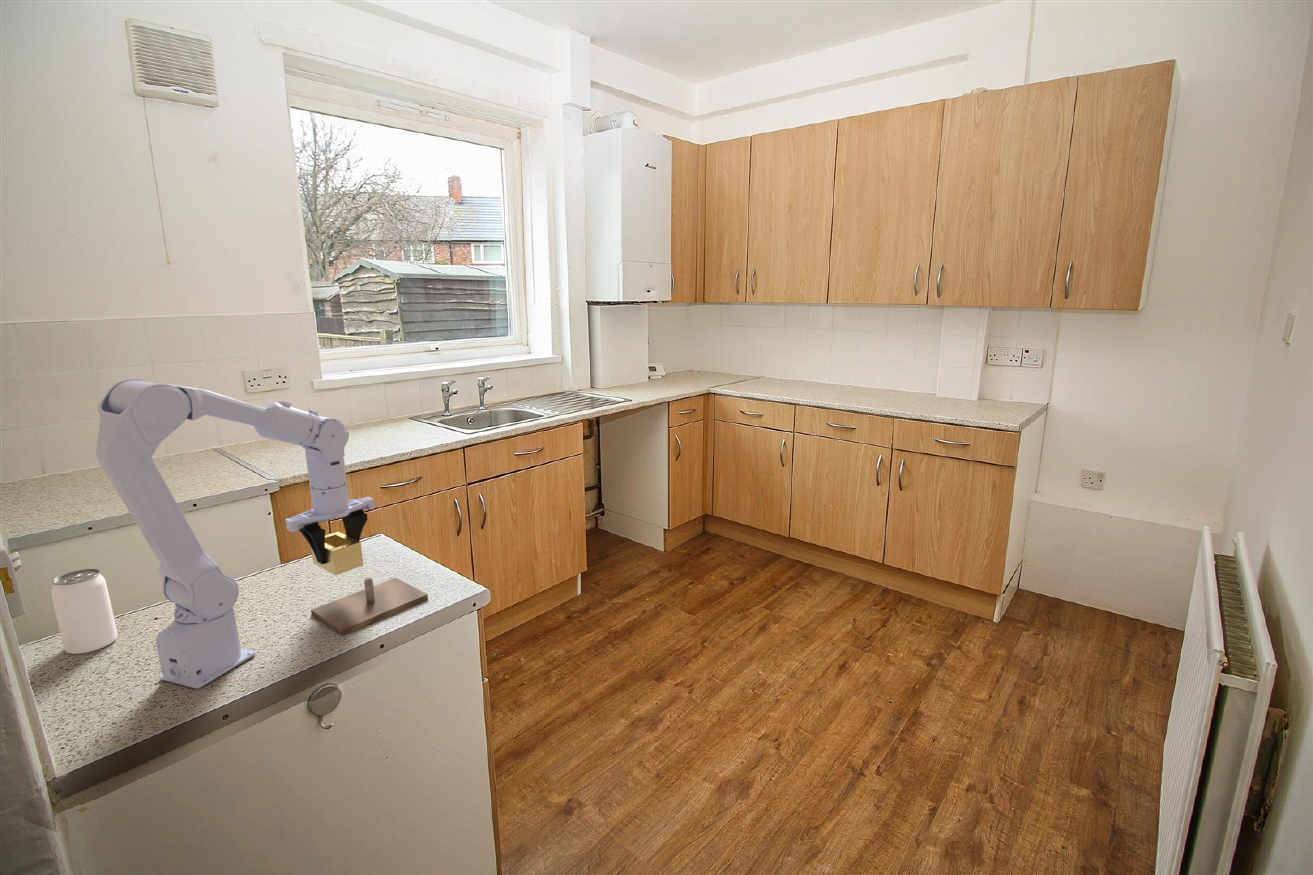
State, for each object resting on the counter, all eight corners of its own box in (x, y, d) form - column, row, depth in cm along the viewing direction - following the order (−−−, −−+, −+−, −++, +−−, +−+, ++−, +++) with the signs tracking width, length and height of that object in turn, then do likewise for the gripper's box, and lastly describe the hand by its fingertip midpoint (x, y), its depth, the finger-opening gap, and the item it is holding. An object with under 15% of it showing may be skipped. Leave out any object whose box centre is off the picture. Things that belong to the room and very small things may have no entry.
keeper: (342, 635, 104) (338, 604, 103) (311, 614, 111) (307, 585, 109) (428, 599, 117) (425, 570, 115) (395, 582, 123) (393, 555, 122)
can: (128, 634, 104) (114, 568, 102) (90, 657, 98) (74, 586, 95) (93, 632, 105) (78, 566, 102) (53, 654, 99) (36, 584, 96)
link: (363, 565, 112) (360, 541, 111) (335, 575, 108) (332, 551, 107) (340, 554, 117) (338, 531, 116) (313, 563, 113) (310, 540, 112)
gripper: (295, 500, 101) (306, 577, 104) (380, 478, 112) (387, 549, 115) (275, 491, 105) (287, 566, 108) (359, 471, 116) (367, 540, 119)
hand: (337, 557), depth 112 cm, fingers closed on link, 5 cm apart
